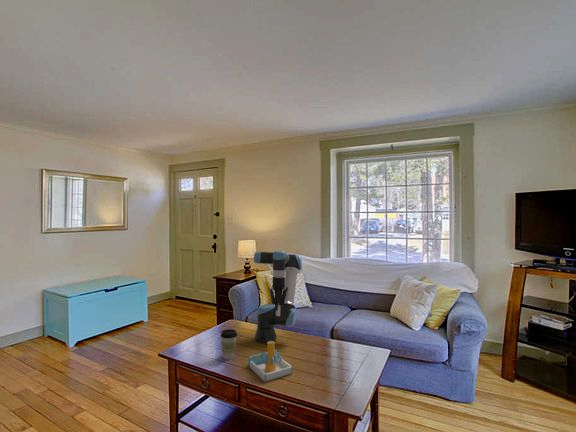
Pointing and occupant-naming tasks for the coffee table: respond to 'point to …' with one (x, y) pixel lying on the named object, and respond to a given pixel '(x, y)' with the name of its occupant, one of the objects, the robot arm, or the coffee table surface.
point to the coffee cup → (228, 343)
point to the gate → (257, 358)
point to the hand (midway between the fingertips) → (277, 315)
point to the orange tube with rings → (270, 357)
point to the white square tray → (281, 371)
